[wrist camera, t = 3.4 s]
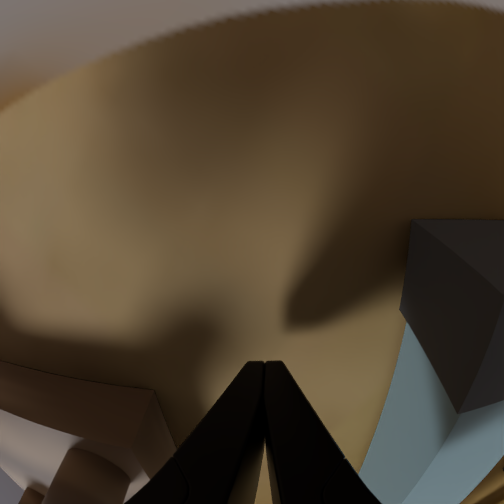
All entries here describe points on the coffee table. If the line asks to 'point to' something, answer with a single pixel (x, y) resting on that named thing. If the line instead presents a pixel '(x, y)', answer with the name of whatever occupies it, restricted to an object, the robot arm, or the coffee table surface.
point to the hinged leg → (444, 368)
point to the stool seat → (78, 437)
